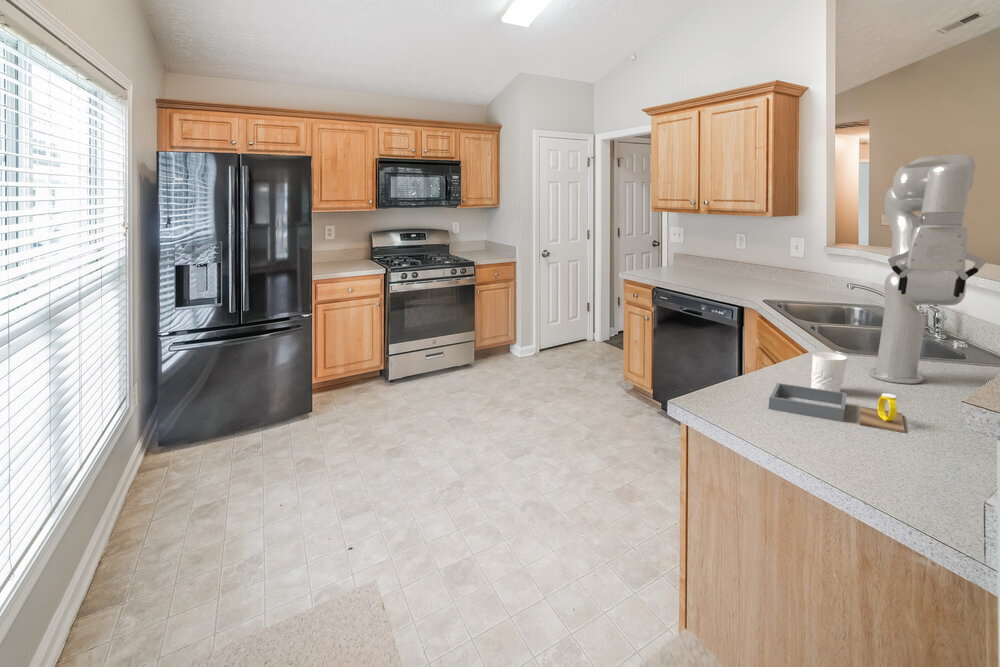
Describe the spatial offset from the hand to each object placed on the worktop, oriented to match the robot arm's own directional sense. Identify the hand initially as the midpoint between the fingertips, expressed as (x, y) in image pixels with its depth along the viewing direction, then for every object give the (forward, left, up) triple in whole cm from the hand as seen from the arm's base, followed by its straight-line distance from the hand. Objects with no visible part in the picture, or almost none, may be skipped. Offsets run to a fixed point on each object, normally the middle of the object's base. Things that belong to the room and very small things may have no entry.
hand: (928, 295), depth 118 cm
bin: (+12, -21, -28) cm, 37 cm away
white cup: (-4, -18, -28) cm, 34 cm away
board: (+13, -6, -28) cm, 32 cm away
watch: (+14, -5, -28) cm, 31 cm away
